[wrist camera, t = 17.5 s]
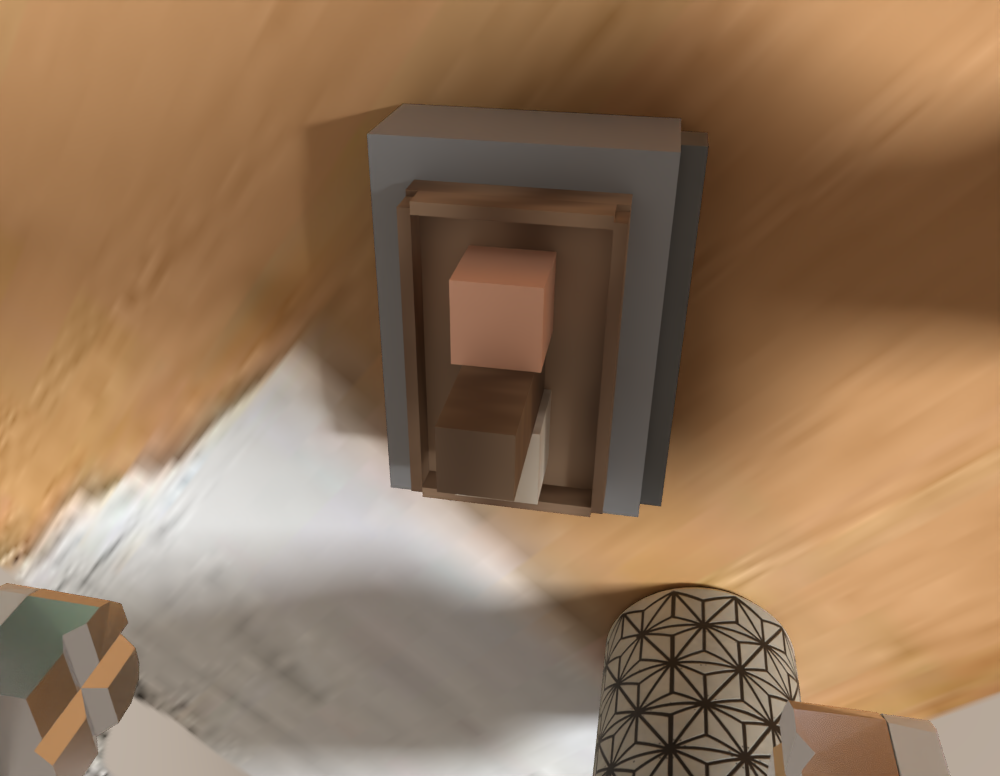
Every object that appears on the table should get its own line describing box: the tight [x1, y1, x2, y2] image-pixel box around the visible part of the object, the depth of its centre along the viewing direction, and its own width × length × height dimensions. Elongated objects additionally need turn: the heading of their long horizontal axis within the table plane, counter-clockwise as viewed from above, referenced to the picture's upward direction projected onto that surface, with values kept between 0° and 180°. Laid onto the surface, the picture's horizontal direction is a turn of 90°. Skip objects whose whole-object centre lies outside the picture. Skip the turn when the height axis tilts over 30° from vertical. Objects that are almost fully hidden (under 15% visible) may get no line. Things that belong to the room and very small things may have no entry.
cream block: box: [455, 389, 551, 504], centre depth 42 cm, size 4×4×4 cm
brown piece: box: [396, 180, 633, 517], centre depth 39 cm, size 10×16×10 cm, turn 0°
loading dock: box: [367, 104, 709, 517], centre depth 46 cm, size 15×20×6 cm
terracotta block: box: [449, 245, 556, 373], centre depth 39 cm, size 4×4×4 cm
